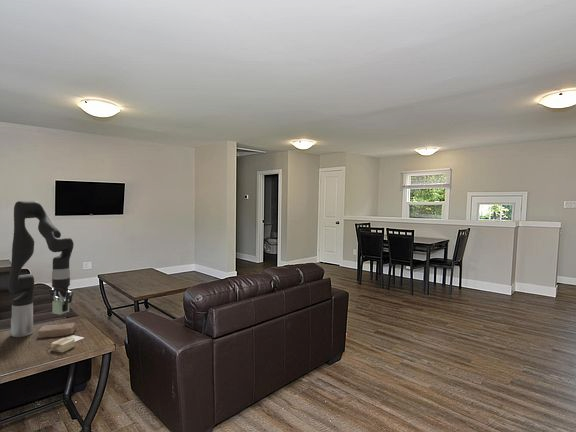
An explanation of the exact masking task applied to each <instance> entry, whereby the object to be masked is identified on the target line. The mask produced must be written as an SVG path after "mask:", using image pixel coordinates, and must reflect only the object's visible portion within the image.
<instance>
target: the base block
mask: <svg viewBox="0 0 576 432" xmlns="http://www.w3.org/2000/svg"><path fill="white" fill-rule="evenodd" d="M75 343H76V342H75V339H68V338H66V337H62V338H60V339H57V340H55V341H53V342H51V343H50V351H51V352H52V351H53V352H58V353H65V352H66V351H68V350H70V349H73V348H74V347H75V346H76V345H75Z"/></svg>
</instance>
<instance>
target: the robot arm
mask: <svg viewBox="0 0 576 432" xmlns="http://www.w3.org/2000/svg"><path fill="white" fill-rule="evenodd" d="M34 218H35V219H38V221H39V222H38V227H37V229H38V232H39V234H40V235H41V236H42V238H44V240H45V242H46V245H47V248H48V249H49V251H50V252H52V253H60V254H59V255H58V256H55V257H53V258H52V271H51V287H52V289H51V288H50V289H49V296H50V301H51V302H52V301H56V300H62V303H63V305H62V311H63V312H65V311H67V310H68V303H69V304H70V303H72V301H73V300H72V299H73V294H74V291H70V290H69V287H70V285H71V272H70V271H71V270H70V260H71V257H72V252H73V249H74V241H73V239H72V238H71V237H68V236H64V237H62V234H61V232H60V230H59V229H58V227H56V225H54V224H53V222H52V221H51V219H50V218H49V216H48V214H47V212H46V211H45V208H44V206H42V204H41V203H40V202H39V201H37V200H18V201H16V202H15V203H14V207H13V239H12V244H11V245H12V246H11V247H12V248H11V262H10V270H9V275H8V281H7V289H8V292H9V293H11V294H17V293H22V292H23V293H22V294H20V295H19V296H17V297H14V298H13V299H12V300H11V317H10V335H11V337H12V338H23V337H28V336H30V335H31V334H33V333H34V293H35V289H34V288H35V277H34V276H33V274H31V273H28V274H27V273H26V274H20V273H21V270H22V268H23V267H24V266H25V264H27V262H28V261H29V260H30V259H31V258H32V257H33V254H34V251H35V240H34V238H33V237H32V234H30V232H29V230H28V229H27V227H26V219H34ZM64 299H65V301H64ZM68 300H69V301H68Z"/></svg>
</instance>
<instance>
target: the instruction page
mask: <svg viewBox="0 0 576 432" xmlns="http://www.w3.org/2000/svg"><path fill="white" fill-rule="evenodd" d="M65 338H68V339H75V343H76V342H78V341H82V340H84V339H85V337H83V336H78V335H74V334H70V335H68V336H66V337H65Z"/></svg>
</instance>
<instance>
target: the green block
mask: <svg viewBox="0 0 576 432" xmlns="http://www.w3.org/2000/svg"><path fill="white" fill-rule="evenodd" d="M64 301H65V299H64ZM68 301H69V299H68ZM51 302H52V310H51V311H52V312H51V313H52V314H56V315H59V316H60V315H63V314H67V313H69V312H70V303H68V310H67V311H65V312H63V311H62V305H63V303H62V300H56V301H51Z"/></svg>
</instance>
